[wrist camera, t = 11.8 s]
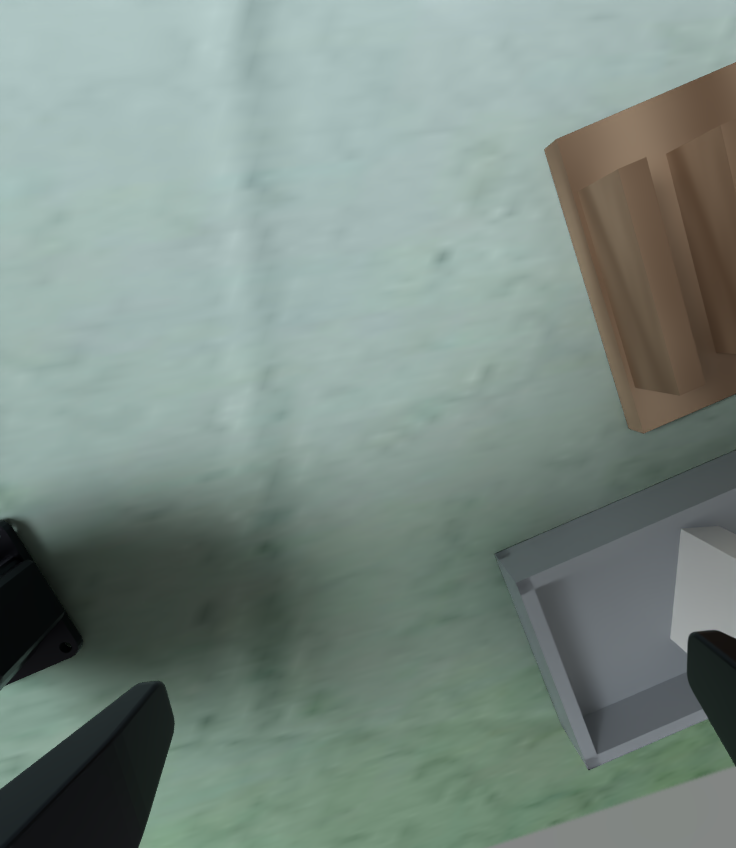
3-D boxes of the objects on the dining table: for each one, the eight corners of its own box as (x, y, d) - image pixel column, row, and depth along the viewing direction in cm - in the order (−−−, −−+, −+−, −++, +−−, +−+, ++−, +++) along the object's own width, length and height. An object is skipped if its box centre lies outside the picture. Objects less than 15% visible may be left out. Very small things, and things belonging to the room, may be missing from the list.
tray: (561, 724, 23) (588, 770, 21) (494, 554, 21) (515, 582, 19) (857, 596, 23) (919, 627, 21) (819, 414, 21) (883, 424, 19)
